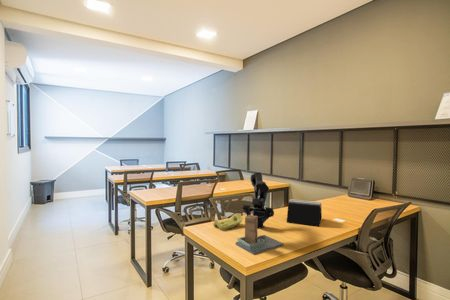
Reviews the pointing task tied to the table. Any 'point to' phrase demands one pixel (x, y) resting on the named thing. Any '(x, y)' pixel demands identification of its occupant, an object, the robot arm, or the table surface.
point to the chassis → (259, 244)
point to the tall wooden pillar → (251, 229)
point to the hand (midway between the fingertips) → (254, 222)
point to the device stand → (304, 212)
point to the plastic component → (229, 222)
